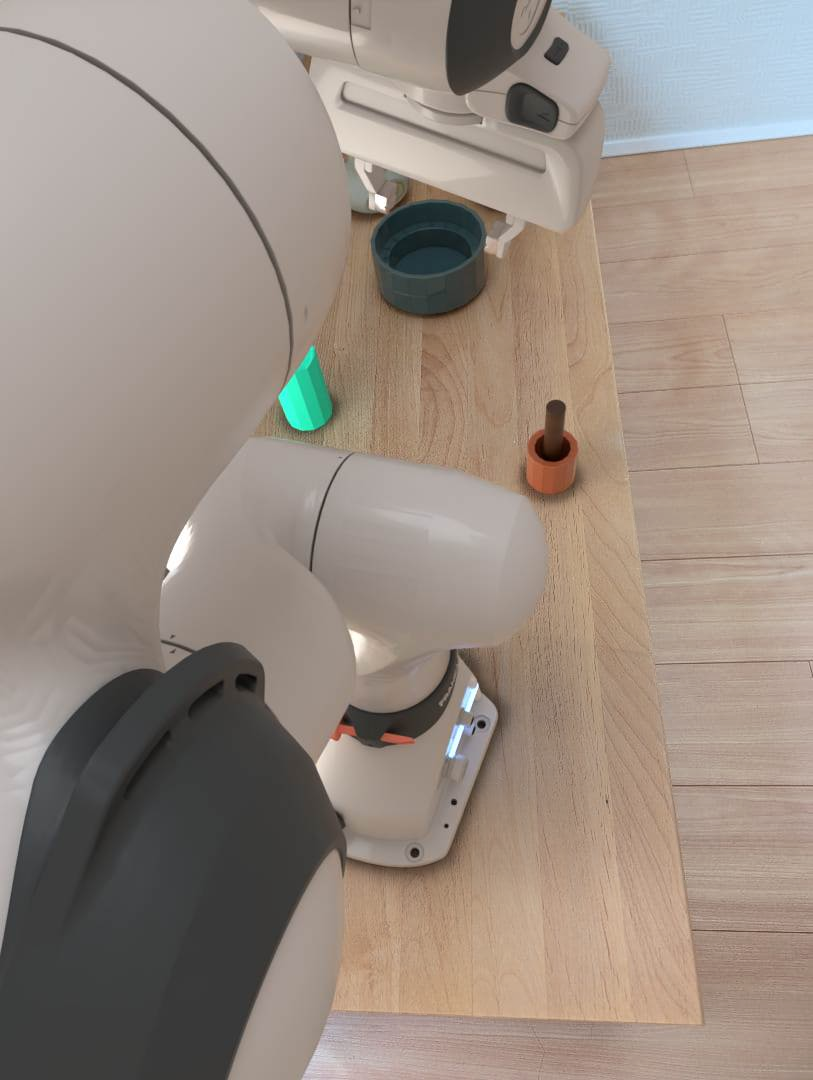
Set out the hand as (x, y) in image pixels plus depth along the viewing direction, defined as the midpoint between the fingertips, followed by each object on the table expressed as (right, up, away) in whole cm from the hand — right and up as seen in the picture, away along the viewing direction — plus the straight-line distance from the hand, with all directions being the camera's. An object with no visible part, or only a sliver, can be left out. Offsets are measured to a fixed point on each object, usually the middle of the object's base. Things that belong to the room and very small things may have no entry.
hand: (438, 228), depth 58 cm
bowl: (+1, +13, +50) cm, 52 cm away
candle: (-15, -7, +41) cm, 44 cm away
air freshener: (-7, +28, +60) cm, 67 cm away
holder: (+14, -16, +31) cm, 38 cm away
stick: (+14, -16, +31) cm, 37 cm away
